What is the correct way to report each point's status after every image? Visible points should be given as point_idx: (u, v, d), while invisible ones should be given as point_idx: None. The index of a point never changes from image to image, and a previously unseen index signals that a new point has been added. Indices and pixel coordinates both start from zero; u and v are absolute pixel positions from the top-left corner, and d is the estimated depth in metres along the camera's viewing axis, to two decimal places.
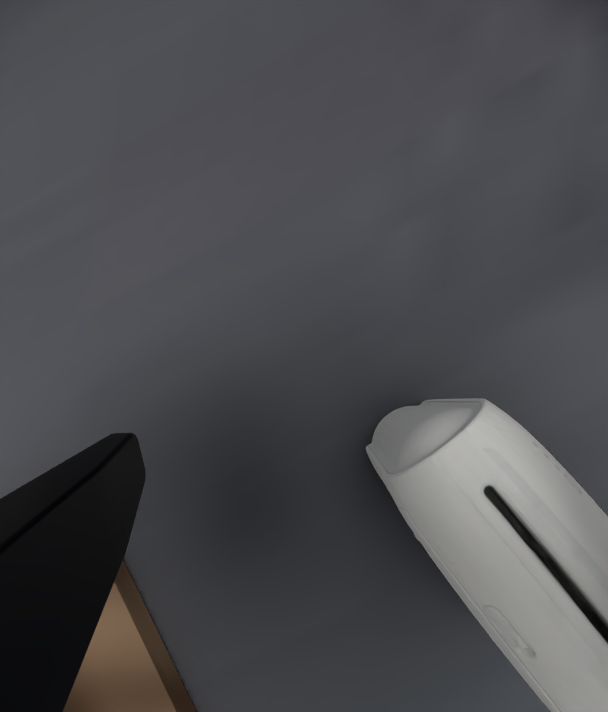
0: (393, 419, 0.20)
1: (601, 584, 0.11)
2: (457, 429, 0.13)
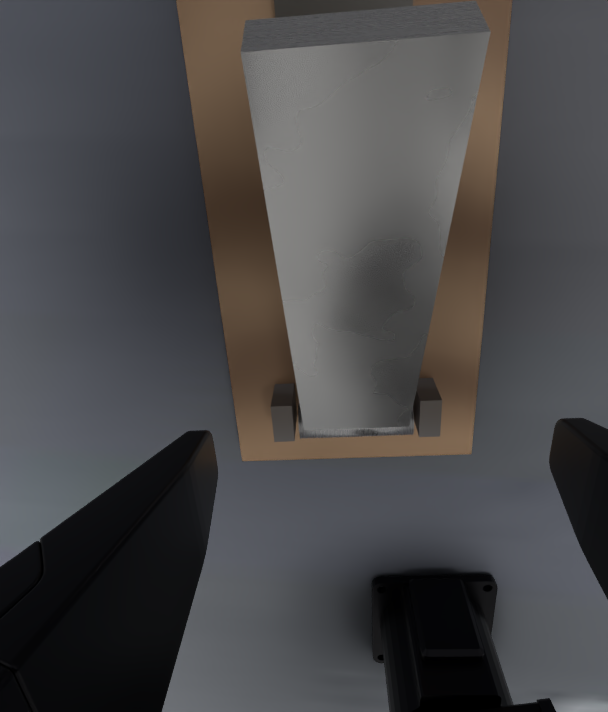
0: None
1: None
2: None
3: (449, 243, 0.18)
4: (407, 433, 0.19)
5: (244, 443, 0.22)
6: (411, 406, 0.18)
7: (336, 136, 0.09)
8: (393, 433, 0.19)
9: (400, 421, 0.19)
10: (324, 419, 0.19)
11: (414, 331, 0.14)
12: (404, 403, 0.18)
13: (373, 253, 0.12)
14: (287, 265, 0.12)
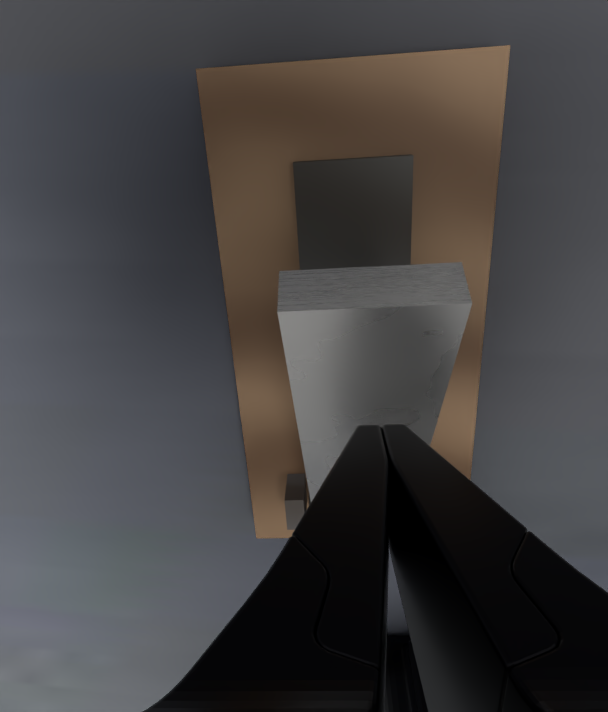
0: None
1: None
2: None
3: None
4: None
5: (258, 523, 0.24)
6: None
7: (350, 354, 0.12)
8: None
9: None
10: None
11: None
12: None
13: (379, 416, 0.14)
14: (306, 422, 0.14)
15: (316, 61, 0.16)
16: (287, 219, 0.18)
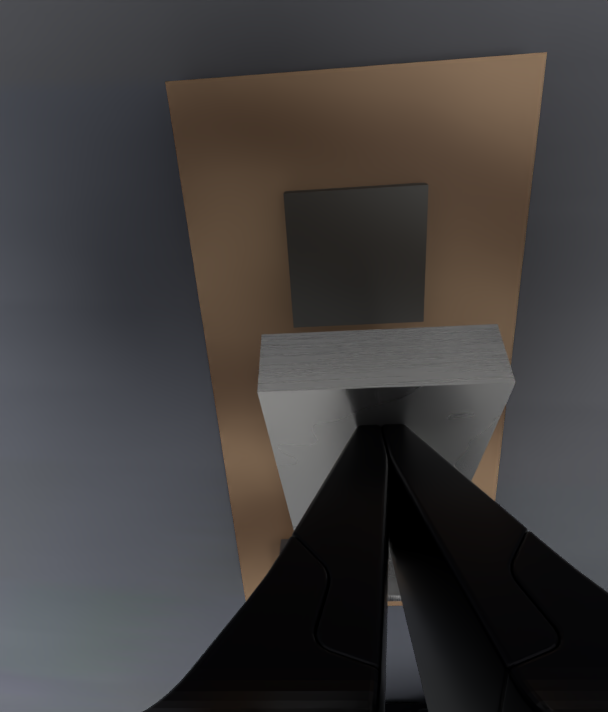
0: None
1: None
2: None
3: None
4: None
5: (249, 591, 0.21)
6: None
7: None
8: None
9: None
10: None
11: None
12: None
13: None
14: (299, 507, 0.12)
15: (311, 72, 0.13)
16: (277, 258, 0.15)
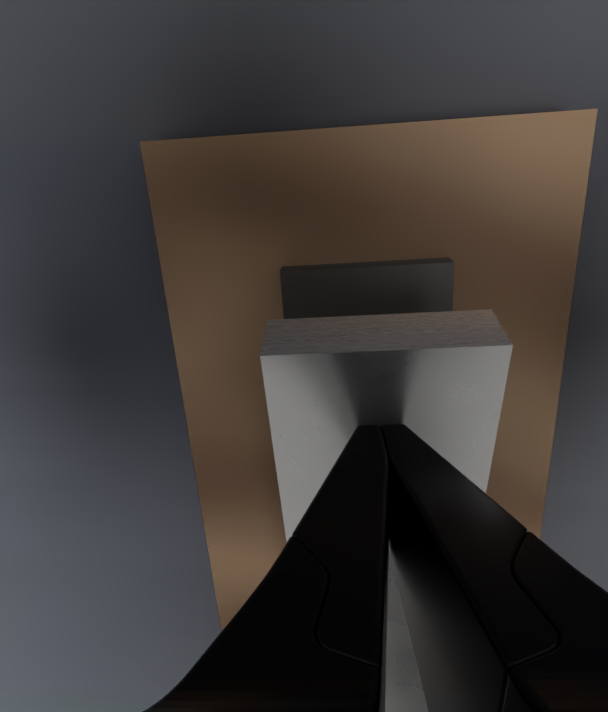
0: None
1: None
2: None
3: None
4: None
5: None
6: None
7: None
8: None
9: None
10: None
11: None
12: None
13: None
14: None
15: (313, 131, 0.11)
16: None
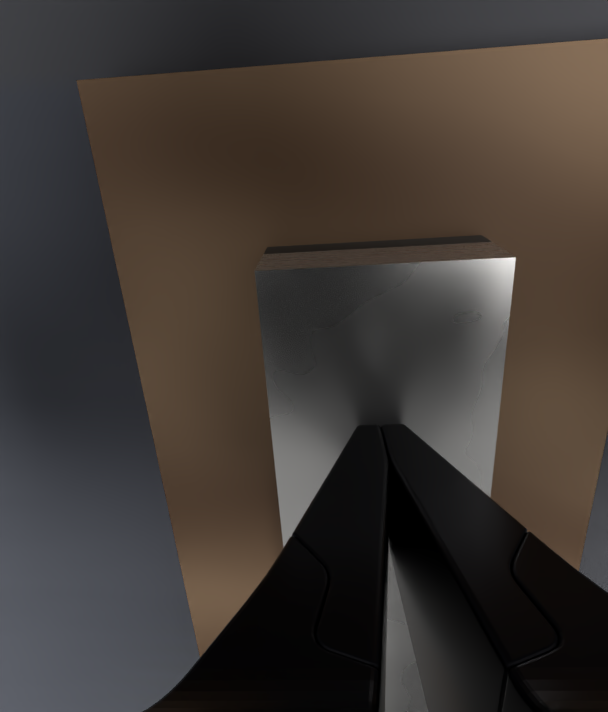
0: None
1: None
2: None
3: None
4: None
5: None
6: None
7: (354, 360, 0.08)
8: None
9: None
10: None
11: None
12: None
13: None
14: (293, 514, 0.10)
15: (306, 65, 0.08)
16: (258, 341, 0.10)
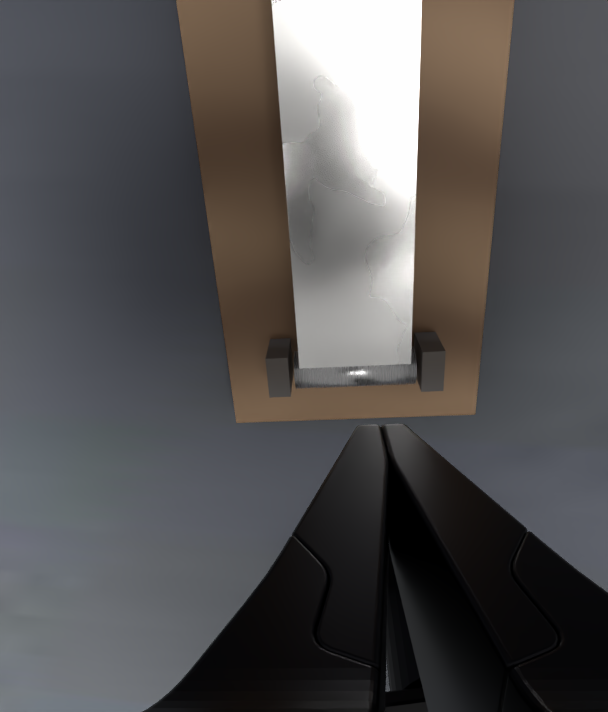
0: None
1: None
2: None
3: (453, 184, 0.17)
4: (410, 374, 0.18)
5: (238, 403, 0.21)
6: (410, 323, 0.17)
7: None
8: (395, 374, 0.18)
9: (401, 353, 0.18)
10: (321, 346, 0.18)
11: (403, 191, 0.15)
12: (402, 316, 0.17)
13: (359, 80, 0.14)
14: (288, 94, 0.14)
15: None
16: None
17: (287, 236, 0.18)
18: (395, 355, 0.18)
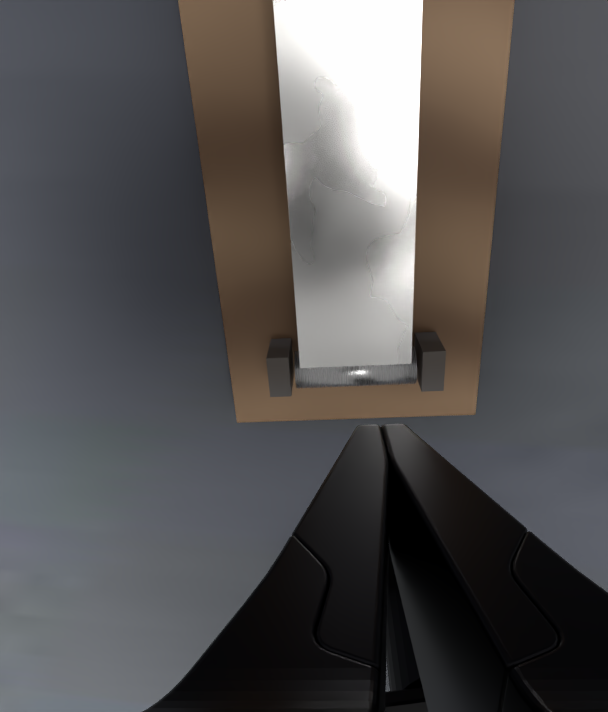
0: None
1: None
2: None
3: (454, 184, 0.17)
4: (410, 374, 0.18)
5: (239, 403, 0.21)
6: (411, 323, 0.17)
7: None
8: (395, 374, 0.18)
9: (402, 353, 0.18)
10: (322, 345, 0.18)
11: (403, 191, 0.15)
12: (403, 316, 0.17)
13: (360, 81, 0.14)
14: (289, 94, 0.14)
15: None
16: None
17: (288, 236, 0.18)
18: (395, 355, 0.18)
